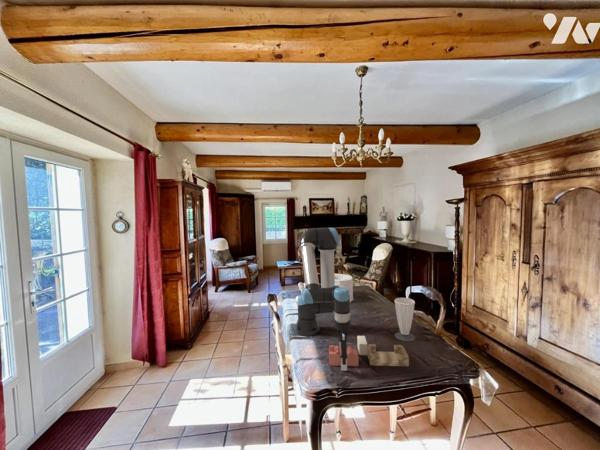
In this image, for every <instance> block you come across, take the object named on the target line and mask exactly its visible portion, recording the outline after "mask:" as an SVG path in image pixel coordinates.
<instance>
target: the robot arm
mask: <svg viewBox="0 0 600 450" xmlns="http://www.w3.org/2000/svg"><path fill="white" fill-rule="evenodd" d="M298 245H299V246H298V247H299V251H300V252H301V258H302V260H301V261H302V267H303V279H304V283H305V289H303V290H302V293H300V295H297V296H298V303H297V304H296V305H297V321H296V324H295V332H296V334H298V335H300V336H306V337H308V336H311V337H312V336H314V335H315V336H316V335H317V334H318V333H319V332H320V325H319V322H318V319H317V315H323V314H325V315H326V314H333V315H334V328H335V329H336V330H338V331H337V333H338V339H339V345H338V348H341V356H340V358H341V366H340V370H341V371H344V372H345V371H348V366H347V348H348V345H347V341H348V332H347V331H349V330H350V329H351V316H352V313H351V312H350V311H351V302H350V294H349V290H348V289H347V288H341V287H339V286H337V285H335V276H334V274H335V252H336V250H337V247H338V246H339V245H340V238H339V234H338V229H336V228H335V227H317V228H315V227H313V228H309V229H307V230H305V231H304V232H303V233H302V235H301V237H300V239H299V243H298ZM316 248H317V250H318V251H319V252H320V283H319V276H318V275H319V274H318V269H317V261H316V253H315V249H316ZM320 285H321V286H320Z"/></svg>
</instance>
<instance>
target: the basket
mask: <svg viewBox="0 0 600 450" xmlns="http://www.w3.org/2000/svg"><path fill="white" fill-rule="evenodd" d="M334 276H335V285H337V286H339V287H341V288H347V289H348V290H349V294H350V303H351V302H352V301H354V282H353V276H352V275H350V274H344V273H334Z"/></svg>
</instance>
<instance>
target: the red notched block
mask: <svg viewBox="0 0 600 450" xmlns="http://www.w3.org/2000/svg"><path fill="white" fill-rule="evenodd" d="M340 356H341V348H339V345H332V344H331V345H329V347H328V357H329V359H328V360H329V361H328V362H329V364H328V365H329V366H333V367H334V366H335V367H336V366H337V367H338V366H339V367H341V358H340ZM347 367H359V350H358V347H351V345H347Z"/></svg>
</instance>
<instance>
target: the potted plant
mask: <svg viewBox="0 0 600 450" xmlns="http://www.w3.org/2000/svg"><path fill="white" fill-rule="evenodd" d="M297 287H298V288H299V291H300V294H302V290H303V289H305V282H299V283H298V285H297ZM298 296H299V295H297V296H296V297H295V303H296V305H297V303H298Z"/></svg>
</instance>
